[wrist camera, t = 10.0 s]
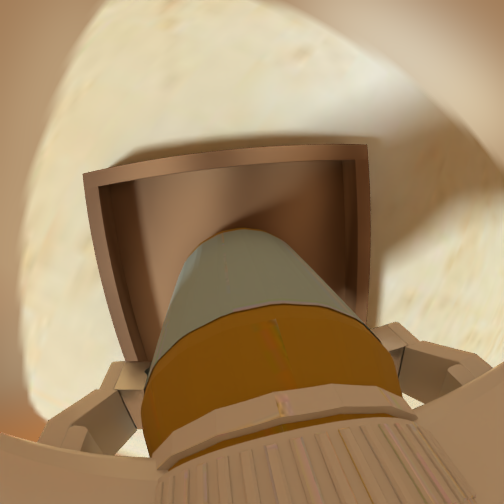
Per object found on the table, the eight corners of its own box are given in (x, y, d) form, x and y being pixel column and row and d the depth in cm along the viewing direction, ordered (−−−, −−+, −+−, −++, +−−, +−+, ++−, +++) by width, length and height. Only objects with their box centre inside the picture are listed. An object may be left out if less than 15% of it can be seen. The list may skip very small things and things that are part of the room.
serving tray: (347, 147, 16) (367, 144, 14) (346, 356, 20) (359, 375, 18) (100, 173, 15) (82, 173, 13) (149, 383, 19) (143, 406, 16)
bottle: (162, 314, 16) (98, 586, 2) (210, 203, 15) (172, 547, 1) (267, 354, 18) (342, 588, 4) (323, 257, 17) (539, 456, 2)
